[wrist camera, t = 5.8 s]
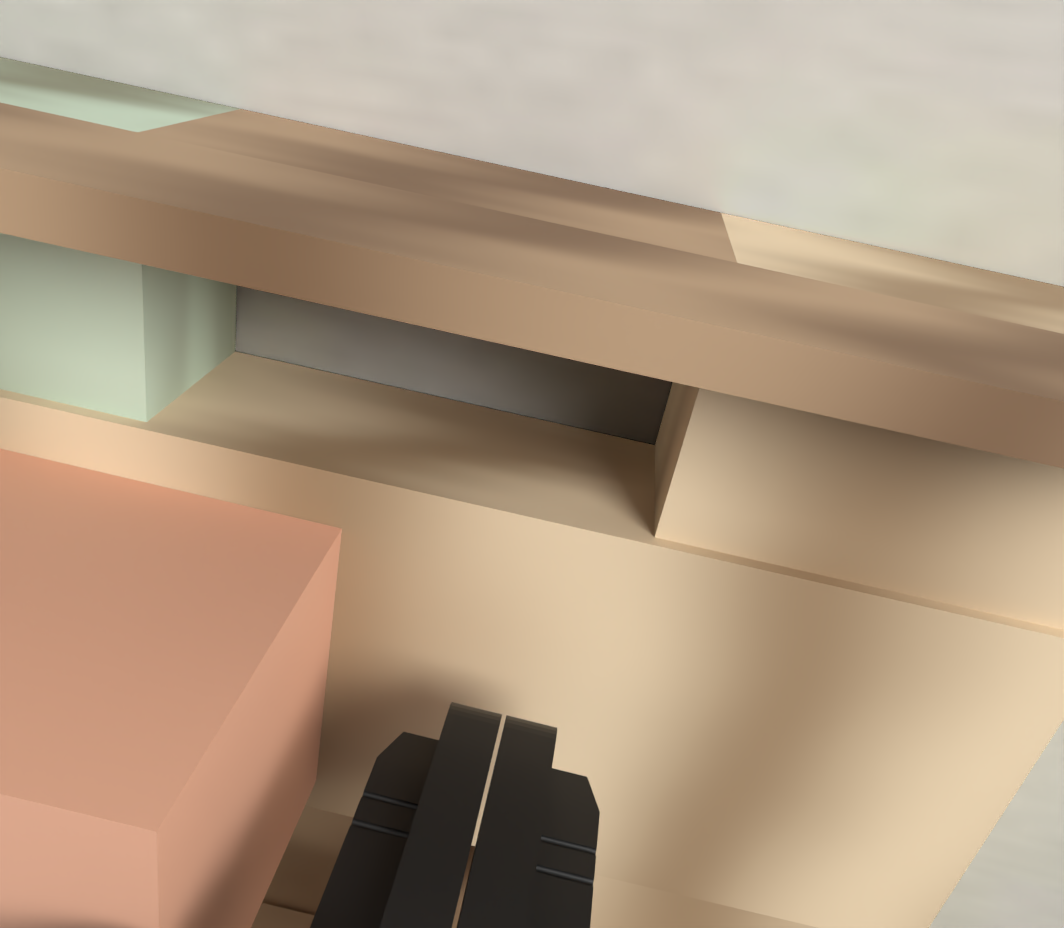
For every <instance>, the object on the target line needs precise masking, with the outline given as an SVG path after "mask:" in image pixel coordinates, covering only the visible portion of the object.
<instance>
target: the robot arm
mask: <svg viewBox="0 0 1064 928" xmlns="http://www.w3.org/2000/svg"><path fill="white" fill-rule="evenodd" d="M501 717H502V714H499V713H495V712H491V711H486V710H482V709H478V708H474V707H470V706H466V705H462V704H458V703H454V702H451V704H450V707H449V710H448V713H447V716H446V719H445V722H444V725H443V729H442V732H441V735H440V738H439V740H436V739H432V738H428V737H424V736H420V735H416V734H412V733H408V732H403V733H402V734H400V735H399V736H398V737H397V738H396V739H395V740H394V741H393V742H392V743H391V744H390V745H389V746H388V747H387V748H386V749H385V750H384V751H383V752H382V753H381V754H380V755H378V756H377V758H376V761H375V763H374V766H373V768H372V771H371V774H370V776H369V779H368V781H367V784H366V786H365V789H364V792H363V796H362V797H361V799H360V801H359V804H358V807H357V809H356V812H355V814H354V817H353V820H352V824H351V826H350V827H349V829H348V832H347V834H346V837H345V840H344V842H343V845H342V847H341V850H340V852H339V855H338V857H337V860H336V862H335V865H334V867H333V870H332V873H331V875H330V878H329V880H328V883H327V885H326V888H325V890H324V893H323V895H322V898H321V900H320V903H319V906H318V908H317V911H316V913H315V916H314V918H313V921H312V923H311V926H310V928H452V924H453V920H454V916H455V912H456V908H457V903H458V899H459V895H460V891H461V887H462V882H463V878H464V874H465V870H466V865H467V861H468V857H469V853H470V849H471V844H472V840H473V836H474V832H475V828H476V823H477V819H478V815H479V811H480V806H481V802H482V798H483V794H484V789H485V785H486V781H487V777H488V772H489V768H490V764H491V760H492V756H493V751H494V747H495V743H496V739H497V734H498V730H499V726H500V722H501ZM556 737H557V727H553V726H548V725H544V724H540V723H536V722H532V721H528V720H524V719H520V718H516V717H512V716H508V715H506V719H505V723H504V727H503V731H502V736H501V740H500V744H499V748H498V752H497V757H496V761H495V765H494V769H493V773H492V777H491V782H490V786H489V790H488V794H487V798H486V803H485V807H484V811H483V815H482V820H481V824H480V828H479V832H478V837H477V841H476V845H475V850H474V854H473V858H472V863H471V867H470V871H469V876H468V880H467V884H466V889H465V893H464V897H463V901H462V906H461V910H460V914H459V919H458V923H457V927H456V928H590V923H591V911H592V899H593V882H594V875H595V864H596V856H595V855H596V849H597V840H598V828H599V816H600V811H599V808H598V806H597V803H596V800H595V797H594V794H593V792H592V789H591V786H590V783H589V780H588V778H587V777H586V776H582V775H578V774H574V773H570V772H566V771H562V770H558V769H554V768H552V763H553V757H554V750H555V744H556Z"/></svg>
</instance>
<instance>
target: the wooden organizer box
mask: <svg viewBox="0 0 1064 928" xmlns="http://www.w3.org/2000/svg"><path fill="white" fill-rule="evenodd" d="M237 285H238V286H242V287H247V288H251V289H256V290H260V291H265V292H269V293H274V294H278V295H283V296H287V297H292V298H296V299H301V300H305V301H310V302H314V303H319V304H323V305H328V306H332V307H337V308H341V309H346V310H350V311H355V312H359V313H364V314H368V315H373V316H377V317H382V318H386V319H391V320H395V321H400V322H404V323H409V324H414V325H418V326H423V327H427V328H432V329H436V330H441V331H445V332H450V333H454V334H459V335H463V336H468V337H472V338H477V339H481V340H486V341H490V342H495V343H499V344H504V345H508V346H513V347H517V348H522V349H526V350H531V351H535V352H540V353H544V354H549V355H553V356H558V357H562V358H567V359H571V360H576V361H580V362H585V363H589V364H594V365H598V366H603V367H607V368H612V369H617V370H621V371H626V372H630V373H635V374H639V375H644V376H648V377H653V378H657V379H662V380H666V381H671V382H673V383H672V387H671V390H670V394H669V397H668V401H667V404H666V408H665V412H664V415H663V419H662V422H661V426H660V429H659V433H658V436H657V440H656V443H655V445H652V444H647V443H643V442H638V441H634V440H629V439H625V438H620V437H616V436H611V435H607V434H602V433H598V432H594V431H589V430H585V429H580V428H576V427H571V426H567V425H562V424H558V423H553V422H549V421H544V420H540V419H535V418H531V417H526V416H522V415H518V414H513V413H509V412H504V411H500V410H495V409H491V408H486V407H482V406H477V405H473V404H468V403H464V402H459V401H455V400H450V399H446V398H442V397H437V396H433V395H428V394H424V393H419V392H415V391H410V390H406V389H401V388H397V387H392V386H388V385H383V384H379V383H374V382H370V381H366V380H361V379H357V378H352V377H348V376H343V375H339V374H334V373H330V372H325V371H321V370H316V369H312V368H307V367H303V366H299V365H294V364H290V363H285V362H281V361H276V360H272V359H267V358H263V357H258V356H254V355H249V354H245V353H240V352H236V351H235V339H236V294H237ZM0 449H4V450H9V451H13V452H17V453H21V454H26V455H30V456H34V457H38V458H43V459H47V460H51V461H56V462H60V463H64V464H68V465H73V466H77V467H81V468H86V469H90V470H94V471H98V472H103V473H107V474H111V475H115V476H120V477H124V478H128V479H133V480H137V481H141V482H145V483H150V484H154V485H158V486H162V487H167V488H171V489H175V490H180V491H184V492H188V493H192V494H197V495H201V496H205V497H209V498H214V499H218V500H222V501H227V502H231V503H235V504H239V505H244V506H248V507H252V508H256V509H261V510H265V511H269V512H274V513H278V514H282V515H286V516H291V517H295V518H299V519H303V520H308V521H312V522H316V523H321V524H325V525H329V526H333V527H338V528H342V534H341V544H340V553H339V563H338V573H337V582H336V592H335V602H334V612H333V621H332V631H331V641H330V650H329V660H328V670H327V680H326V689H325V699H324V709H323V719H322V728H321V738H320V748H319V757H318V767H317V777H316V782H315V785H314V787H313V789H312V791H311V794H310V796H309V798H308V800H307V803H306V805H305V807H304V809H303V812H302V814H301V816H300V818H299V821H298V823H297V825H296V827H295V830H294V832H293V834H292V836H291V839H290V841H289V843H288V845H287V848H286V850H285V852H284V854H283V857H282V859H281V861H280V863H279V866H278V868H277V870H276V872H275V875H274V877H273V879H272V881H271V884H270V886H269V888H268V890H267V893H266V895H265V897H264V900H263V902H262V904H261V906H260V909H259V911H258V913H257V915H256V918H255V920H254V922H253V924H252V927H251V928H310V926H311V923H312V921H313V918H314V916H315V913H316V911H317V908H318V906H319V903H320V900H321V898H322V895H323V893H324V890H325V888H326V885H327V883H328V880H329V878H330V875H331V873H332V870H333V867H334V865H335V862H336V860H337V857H338V855H339V852H340V850H341V847H342V845H343V842H344V840H345V837H346V834H347V832H348V829H349V827H350V826H351V824H352V820H353V817H354V814H355V812H356V809H357V807H358V804H359V801H360V799H361V797H362V796H363V792H364V789H365V786H366V784H367V781H368V779H369V776H370V774H371V771H372V768H373V766H374V763H375V761H376V758H377V756H378V755H380V754H381V753H382V752H383V751H384V750H385V749H386V748H387V747H388V746H389V745H390V744H391V743H392V742H393V741H394V740H395V739H396V738H397V737H398V736H399V735H400V734H402V733H403V732H408V733H412V734H416V735H420V736H424V737H428V738H432V739H436V740H439V738H440V735H441V732H442V729H443V725H444V722H445V719H446V716H447V713H448V710H449V707H450V704H451V702H454V703H458V704H462V705H466V706H470V707H474V708H478V709H482V710H486V711H491V712H495V713H499V714H502V717H501V722H500V726H499V730H498V734H497V739H496V743H495V747H494V751H493V756H492V760H491V764H490V768H489V772H488V777H487V781H486V785H485V789H484V794H483V798H482V802H481V806H480V811H479V815H478V819H477V823H476V828H475V832H474V836H473V840H472V844H471V849H470V853H469V857H468V861H467V865H466V870H465V874H464V878H463V882H462V887H461V891H460V895H459V899H458V903H457V908H456V912H455V916H454V920H453V924H452V928H456V927H457V923H458V919H459V914H460V910H461V906H462V901H463V897H464V893H465V889H466V884H467V880H468V876H469V871H470V867H471V863H472V858H473V854H474V850H475V845H476V841H477V837H478V832H479V828H480V824H481V820H482V815H483V811H484V807H485V803H486V798H487V794H488V790H489V786H490V782H491V777H492V773H493V769H494V765H495V761H496V757H497V752H498V748H499V744H500V740H501V736H502V731H503V727H504V723H505V719H506V715H508V716H512V717H516V718H520V719H524V720H528V721H532V722H536V723H540V724H544V725H548V726H553V727H557V737H556V744H555V750H554V757H553V763H552V768H554V769H558V770H562V771H566V772H570V773H574V774H578V775H582V776H586V777H587V778H588V780H589V783H590V786H591V789H592V792H593V794H594V797H595V800H596V803H597V806H598V808H599V811H600V816H599V828H598V840H597V849H596V855H595V856H596V864H595V875H594V882H593V899H592V911H591V923H590V928H929V926H930V925H931V923H932V922H933V920H934V919H935V917H936V916H937V914H938V913H939V911H940V909H941V908H942V906H943V905H944V903H945V902H946V900H947V899H948V897H949V896H950V894H951V893H952V891H953V889H954V888H955V886H956V885H957V883H958V882H959V880H960V879H961V877H962V876H963V874H964V873H965V871H966V869H967V868H968V866H969V865H970V863H971V862H972V860H973V859H974V857H975V856H976V854H977V852H978V851H979V849H980V848H981V846H982V845H983V843H984V842H985V840H986V839H987V837H988V836H989V834H990V832H991V831H992V829H993V828H994V826H995V825H996V823H997V822H998V820H999V819H1000V817H1001V816H1002V814H1003V812H1004V811H1005V809H1006V808H1007V806H1008V805H1009V803H1010V802H1011V800H1012V799H1013V797H1014V796H1015V794H1016V792H1017V791H1018V789H1019V788H1020V786H1021V785H1022V783H1023V782H1024V780H1025V779H1026V777H1027V775H1028V774H1029V772H1030V771H1031V769H1032V768H1033V766H1034V765H1035V763H1036V762H1037V760H1038V759H1039V757H1040V755H1041V754H1042V752H1043V751H1044V749H1045V748H1046V746H1047V745H1048V743H1049V742H1050V740H1051V739H1052V737H1053V735H1054V734H1055V732H1056V731H1057V729H1058V728H1059V726H1060V725H1061V723H1062V722H1063V720H1064V287H1062V286H1057V285H1053V284H1048V283H1043V282H1039V281H1034V280H1029V279H1025V278H1020V277H1016V276H1011V275H1006V274H1002V273H997V272H992V271H988V270H983V269H979V268H974V267H969V266H965V265H960V264H955V263H951V262H946V261H942V260H937V259H932V258H928V257H923V256H918V255H914V254H909V253H905V252H900V251H895V250H891V249H886V248H881V247H877V246H872V245H868V244H863V243H858V242H854V241H849V240H844V239H840V238H835V237H831V236H826V235H821V234H817V233H812V232H807V231H803V230H798V229H794V228H789V227H784V226H780V225H775V224H770V223H766V222H761V221H757V220H752V219H747V218H743V217H738V216H733V215H729V214H724V213H720V212H715V211H710V210H706V209H701V208H696V207H692V206H687V205H683V204H678V203H673V202H669V201H664V200H659V199H655V198H650V197H646V196H641V195H636V194H632V193H627V192H622V191H618V190H613V189H609V188H604V187H599V186H595V185H590V184H585V183H581V182H576V181H572V180H567V179H562V178H558V177H553V176H548V175H544V174H539V173H535V172H530V171H525V170H521V169H516V168H511V167H507V166H502V165H498V164H493V163H488V162H484V161H479V160H474V159H470V158H465V157H461V156H456V155H451V154H447V153H442V152H437V151H433V150H428V149H423V148H419V147H414V146H410V145H405V144H400V143H396V142H391V141H386V140H382V139H377V138H373V137H368V136H363V135H359V134H354V133H349V132H345V131H340V130H336V129H331V128H326V127H322V126H317V125H312V124H308V123H303V122H299V121H294V120H289V119H285V118H280V117H275V116H271V115H266V114H262V113H257V112H252V111H248V110H243V109H238V108H234V107H229V106H225V105H220V104H215V103H211V102H206V101H201V100H197V99H192V98H188V97H183V96H178V95H174V94H169V93H164V92H160V91H155V90H151V89H146V88H141V87H137V86H132V85H127V84H123V83H118V82H114V81H109V80H104V79H100V78H95V77H90V76H86V75H81V74H77V73H72V72H67V71H63V70H58V69H53V68H49V67H44V66H40V65H35V64H30V63H26V62H21V61H16V60H12V59H7V58H3V57H0Z"/></svg>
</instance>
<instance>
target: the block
mask: <svg viewBox="0 0 1064 928" xmlns="http://www.w3.org/2000/svg"><path fill="white" fill-rule="evenodd" d="M341 534H342V528H338V527H333V526H329V525H325V524H321V523H316V522H312V521H308V520H303V519H299V518H295V517H291V516H286V515H282V514H278V513H274V512H269V511H265V510H261V509H256V508H252V507H248V506H244V505H239V504H235V503H231V502H227V501H222V500H218V499H214V498H209V497H205V496H201V495H197V494H192V493H188V492H184V491H180V490H175V489H171V488H167V487H162V486H158V485H154V484H150V483H145V482H141V481H137V480H133V479H128V478H124V477H120V476H115V475H111V474H107V473H103V472H98V471H94V470H90V469H86V468H81V467H77V466H73V465H68V464H64V463H60V462H56V461H51V460H47V459H43V458H38V457H34V456H30V455H26V454H21V453H17V452H13V451H9V450H4V449H0V928H251V927H252V924H253V922H254V920H255V918H256V915H257V913H258V911H259V909H260V906H261V904H262V902H263V900H264V897H265V895H266V893H267V890H268V888H269V886H270V884H271V881H272V879H273V877H274V875H275V872H276V870H277V868H278V866H279V863H280V861H281V859H282V857H283V854H284V852H285V850H286V848H287V845H288V843H289V841H290V839H291V836H292V834H293V832H294V830H295V827H296V825H297V823H298V821H299V818H300V816H301V814H302V812H303V809H304V807H305V805H306V803H307V800H308V798H309V796H310V794H311V791H312V789H313V787H314V785H315V782H316V777H317V767H318V757H319V748H320V738H321V728H322V719H323V709H324V699H325V689H326V680H327V670H328V660H329V650H330V641H331V631H332V621H333V612H334V602H335V592H336V582H337V573H338V563H339V553H340V544H341Z"/></svg>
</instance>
